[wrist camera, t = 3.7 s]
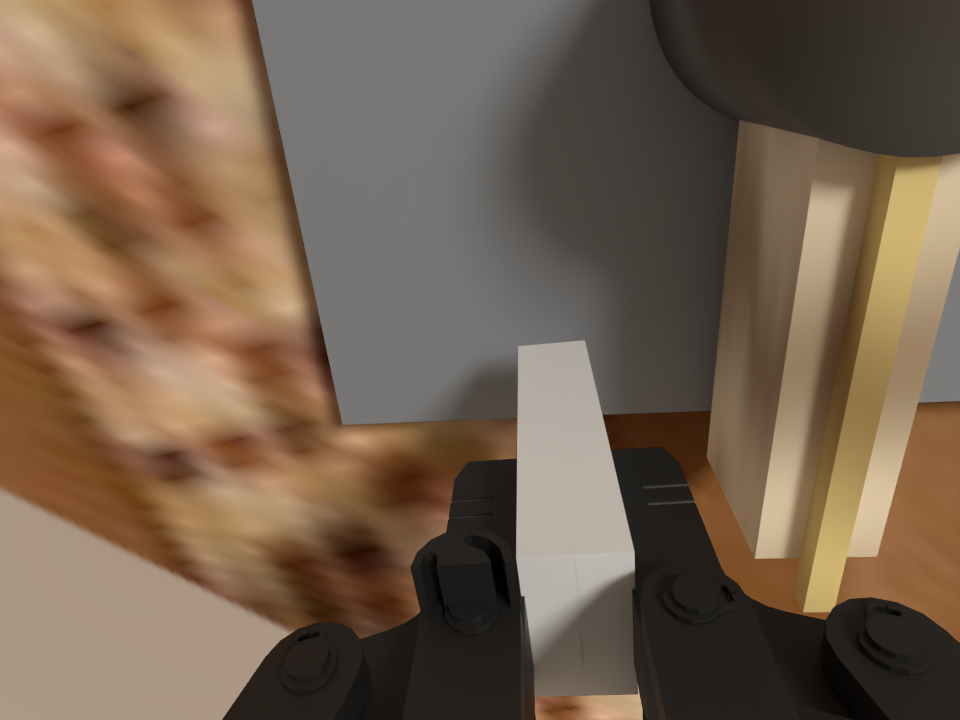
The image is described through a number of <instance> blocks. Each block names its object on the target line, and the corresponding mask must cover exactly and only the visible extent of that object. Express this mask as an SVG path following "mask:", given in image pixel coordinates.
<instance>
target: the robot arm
mask: <svg viewBox="0 0 960 720" xmlns="http://www.w3.org/2000/svg"><path fill="white" fill-rule="evenodd" d="M410 568H411V572H412V576H413V580H414V584H415V589H416V593H417V597H418V601H419V606H420V610H421V612H420V613H419V614H418V615H416V616H415V617H413V618H412V619H410V620H409V621H408V622H406V623H404V624H402V625H400V626H397V627H395V628H393V629H390V630H387V631H384V632H381V633H378V634H375V635H372V636H369V637H366V638H363V639H359V638H358V637H357V635H356V634H355V633H354V632H353V630H352V629H351V628H348V627H346V626H344V625H341V624H339V623H315V624H312V625H309V626H306V627H303V628H300V629H298V630H296V631H295V632H293V633H292V634H290V635H288V636H287V637H285V638H284V639H282V640H281V641H280V642H279V643H278V644H277V645H276V646H275V647H274V648H273V649H272V650H271V651H270V653H269V654H268V655H267V656H266V657H265V659H264V660H263V661H262V663H261V664H260V666H259V667H258V669H257V670H256V672H255V673H254V674H253V676H252V677H251V679H250V680H249V682H248V683H247V685H246V686H245V687H244V689H243V690H242V692H241V693H240V695H239V696H238V698H237V699H236V701H235V702H234V703H233V705H232V706H231V708H230V709H229V711H228V712H227V714H226V715H225V717H224V718H223V720H536V718H535V697H548V696H588V695H627V694H638V687H639V692H640V698H641V703H642V708H643V720H960V643H959V642H958V641H957V640H956V639H955V638H953V637H952V636H951V635H950V634H949V633H948V632H947V631H946V630H945V629H943V628H942V627H940V626H939V625H938V624H936V623H935V622H934V621H932V620H931V619H929V618H928V617H927V616H925V615H924V614H922V613H920V612H918V611H915V610H913V609H911V608H909V607H906V606H904V605H902V604H899V603H897V602H892V601H887V600H882V599H877V598H872V597H871V598H857V599H849V600H847V601H845V602H843V603H841V604H839V605H837V606H835V607H833V609H832V610H831V612H830V614H829V615H828V617H827V619H826V620H822V619H818V618H813V617H808V616H804V615H799V614H794V613H790V612H785V611H782V610H778V609H775V608H772V607H768V606H766V605H764V604H762V603H760V602H758V601H756V600H753V599H751V598H750V597H748V596H747V595H746V594H745V593H744V592H743V590H742V589H741V588H740V586H739V585H738V584H737V583H736V582H735V581H733V580H732V579H731V578H729V577H728V576H726V575H725V573H724V571H723V570H722V568H721V566H720V563H719V561H718V558H717V556H716V553H715V551H714V548H713V546H712V543H711V541H710V538H709V536H708V533H707V531H706V529H705V526H704V524H703V521H702V519H701V516H700V514H699V511H698V509H697V506H696V504H694V499H693V496H692V494H691V491H690V489H689V487H688V486H687V481H686V479H685V476H684V474H683V471H682V469H681V466H680V464H679V462H678V461H676V460H675V459H674V458H673V457H672V456H671V455H670V454H668V453H667V452H666V451H665V450H664V449H663V448H661V447H649V448H635V449H620V450H610V445H609V441H608V437H607V433H606V428H605V424H604V420H603V416H602V411H601V407H600V403H599V399H598V394H597V390H596V386H595V381H594V377H593V373H592V369H591V364H590V360H589V356H588V352H587V347H586V343H585V340H582V341H571V342H560V343H549V344H538V345H527V346H518V426H517V459H504V460H490V461H476V462H468V463H467V465H466V466H465V467H464V468H463V470H462V471H461V472H460V474H459V475H458V476H457V478H456V479H455V482H454V488H453V494H452V503H451V507H450V513H449V520H448V525H447V531H446V533H444V534H442V535H440V536H438V537H436V538H434V539H432V540H430V541H429V542H428V543H427V544H426V545H425V546H424V547H423V548H422V549H421V550H419V551H418V552H417V554H416V556H415V558H414V561H413V563H412V565H411V567H410ZM637 682H638V684H637ZM534 695H535V696H534Z"/></svg>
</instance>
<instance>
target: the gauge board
mask: <svg viewBox="0 0 960 720" xmlns="http://www.w3.org/2000/svg"><path fill="white" fill-rule="evenodd" d="M252 3H253V8H254V13H255V17H256V22H257V27H258V31H259V36H260V41H261V45H262V50H263V55H264V59H265V64H266V69H267V73H268V78H269V83H270V87H271V92H272V97H273V102H274V106H275V111H276V116H277V120H278V125H279V130H280V134H281V139H282V144H283V148H284V153H285V158H286V162H287V167H288V172H289V176H290V181H291V186H292V191H293V195H294V200H295V205H296V209H297V214H298V219H299V223H300V228H301V233H302V237H303V242H304V247H305V251H306V256H307V261H308V265H309V270H310V275H311V280H312V284H313V289H314V294H315V298H316V303H317V308H318V312H319V317H320V322H321V326H322V331H323V336H324V340H325V345H326V350H327V354H328V359H329V364H330V368H331V373H332V378H333V383H334V387H335V392H336V397H337V401H338V406H339V411H340V415H341V420H342V425H353V424H379V423H405V422H431V421H456V420H482V419H508V418H518V346H527V345H538V344H549V343H560V342H571V341H582V340H585V343H586V347H587V352H588V356H589V360H590V364H591V369H592V373H593V377H594V381H595V386H596V390H597V394H598V399H599V403H600V407H601V411H602V415H611V414H637V413H663V412H689V411H711V408H712V398H713V388H714V377H715V367H716V357H717V347H718V336H719V326H720V316H721V306H722V295H723V285H724V275H725V265H726V254H727V244H728V234H729V224H730V213H731V203H732V193H733V183H734V172H735V162H736V152H737V142H738V131H739V120H735V119H732V118H730V117H728V116H725V115H723V114H721V113H719V112H717V111H715V110H713V109H712V108H710V107H709V106H707V105H706V104H704V103H703V102H701V101H700V100H699V99H698V98H697V97H696V96H694V95H693V94H692V93H691V92H690V91H689V90H688V89H687V88H686V87H685V86H684V84H683V83H682V82H681V81H680V79H679V78H678V77H677V76H676V75H675V73H674V71H673V70H672V68H671V66H670V65H669V63H668V61H667V60H666V58H665V55H664V53H663V51H662V48H661V46H660V44H659V41H658V39H657V35H656V31H655V28H654V24H653V20H652V15H651V8H650V1H649V0H252ZM947 401H960V249H959V252H958V256H957V260H956V264H955V267H954V271H953V275H952V278H951V282H950V286H949V290H948V293H947V297H946V301H945V304H944V308H943V312H942V316H941V319H940V323H939V327H938V331H937V334H936V338H935V342H934V345H933V349H932V353H931V357H930V360H929V364H928V368H927V371H926V375H925V379H924V383H923V386H922V390H921V394H920V398H919V401H918V403H921V402H947Z"/></svg>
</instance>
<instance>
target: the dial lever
mask: <svg viewBox="0 0 960 720" xmlns="http://www.w3.org/2000/svg"><path fill="white" fill-rule="evenodd" d="M649 1H650V8H651V15H652V20H653V24H654V28H655V31H656V35H657V39H658V41H659V44H660V46H661V48H662V51H663V53H664V55H665V58H666V60H667V61H668V63H669V65H670V66H671V68H672V70H673V71H674V73H675V75H676V76H677V77H678V78H679V79H680V81H681V82H682V83H683V84H684V86H685V87H686V88H687V89H688V90H689V91H690V92H691V93H692V94H693V95H694V96H696V97H697V98H698V99H699V100H700V101H701V102H703V103H704V104H706V105H707V106H709V107H710V108H712V109H713V110H715V111H717V112H719V113H721V114H723V115H725V116H728V117H730V118H732V119H735V120H739V131H738V142H737V152H736V162H735V172H734V183H733V193H732V203H731V213H730V224H729V234H728V244H727V254H726V265H725V275H724V285H723V295H722V306H721V316H720V326H719V336H718V347H717V357H716V367H715V377H714V388H713V398H712V408H711V418H710V429H709V439H708V449H707V459H708V461H709V464H710V466H711V468H712V470H713V472H714V474H715V476H716V478H717V480H718V482H719V484H720V487H721V489H722V491H723V493H724V495H725V497H726V499H727V501H728V503H729V505H730V507H731V510H732V512H733V514H734V516H735V518H736V520H737V522H738V524H739V526H740V528H741V531H742V533H743V535H744V537H745V539H746V541H747V543H748V545H749V547H750V549H751V551H752V554H753V556H754V558H755V559H759V558H800V561H799V566H798V571H797V576H796V581H795V586H794V591H793V594H794V596H795V598H796V600H797V602H798V603H799V605H800V607H801V609H802V611H803V612H831V610H832V609H833V607H835V604H836V600H837V596H838V591H839V587H840V583H841V579H842V575H843V571H844V567H845V562H846V558H847V557H877V554H878V550H879V546H880V543H881V539H882V535H883V531H884V528H885V524H886V520H887V517H888V513H889V509H890V505H891V502H892V498H893V494H894V491H895V487H896V483H897V479H898V476H899V472H900V468H901V464H902V461H903V457H904V453H905V450H906V446H907V442H908V438H909V435H910V431H911V427H912V424H913V420H914V416H915V412H916V409H917V405H918V401H919V398H920V394H921V390H922V386H923V383H924V379H925V375H926V371H927V368H928V364H929V360H930V357H931V353H932V349H933V345H934V342H935V338H936V334H937V331H938V327H939V323H940V319H941V316H942V312H943V308H944V304H945V301H946V297H947V293H948V290H949V286H950V282H951V278H952V275H953V271H954V267H955V264H956V260H957V256H958V252H959V249H960V0H649Z"/></svg>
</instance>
